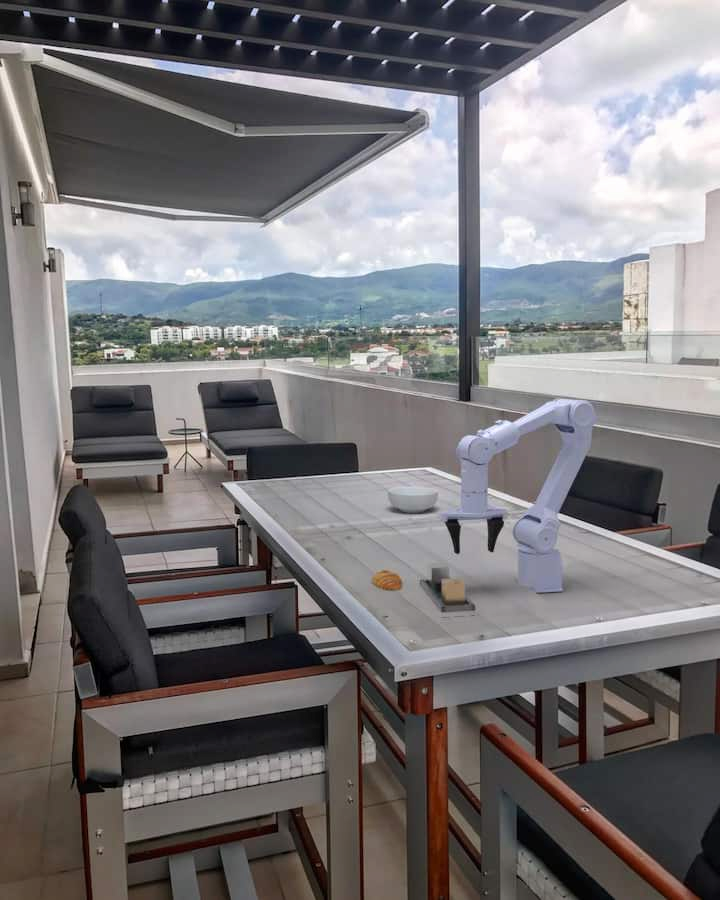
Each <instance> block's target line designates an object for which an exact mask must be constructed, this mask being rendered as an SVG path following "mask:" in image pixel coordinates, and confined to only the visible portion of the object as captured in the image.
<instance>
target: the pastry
mask: <svg viewBox="0 0 720 900" xmlns="http://www.w3.org/2000/svg"><path fill="white" fill-rule="evenodd" d="M371 584H372V586H375V587H376V588H379V589H381V590H383V591H388V592H389V591H391V592H393V591H399V590H402V588H403V582H402V579H401V577H400V576H399V574H398V573H396V572H392V571H391V570H388V569H382V570H380V571H378V572H375V574H374V575H373V576H372V578H371Z"/></svg>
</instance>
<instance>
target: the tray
mask: <svg viewBox="0 0 720 900" xmlns="http://www.w3.org/2000/svg"><path fill="white" fill-rule="evenodd" d="M449 579H451V577H449ZM419 584H420V586H421V588H422V589H423V590H424V592H425V593H426V594H427V595H428V596H429V598H430V600H432V601H433V603H434V604H435V606H436V607H437V608H438V610H439V611H440V612H441V613H451V612H452V613H453V612H469V611H470V612H471V611H476V604H475V603H474V602H472V601H471V599H470V598H469V597H468V596H467V595H466V594H465V605H451V606H444V604H443V603H442V592H436V590H431V588H430V587H429V586H428V585H427V579H420V580H419ZM461 617H464V615H462V616H461V615H459V616H455V618H461ZM471 617H475V614H474V615H471ZM441 618H442V619H443V618H445V619H446V618H448V616H443V617H441Z"/></svg>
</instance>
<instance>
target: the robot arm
mask: <svg viewBox="0 0 720 900" xmlns="http://www.w3.org/2000/svg"><path fill="white" fill-rule="evenodd" d="M596 414H597V413H596V411H595V409H594V406H593V404H592V403H590V402H589V401H588V400H585V399H569V398H568V399H567V398H564V397H558V398H555V399H554V400H553V401H551V400H550V401H548V402H546V403H545V404H543V405H541V406H540V407H538V408H537V409H535V410H532V411H531V412H529V413H527V414H525V415H524V416H522V417H519V418H518V419H516V420H515V421H513V422H512V421H509V420H506V419H505V420H502V419H498V420H496V421H494V425H493V426H489V427H488V428H485V429H484V430H483V429H479V430H477V433H476V434H475V435H472V434H471V435H470V434H468V435H465V436H464V437H462V438H461V440H459V443H458V445H457V447H456V448H455V452H456V455H457V457H458V458H459V460H460V466H461V467H460V469H461V470H460V480H461V481H460V483H461V484H460V509H453V510H445V511H444V510H442V511H441V510H440V520H441V522H442V523H444V524H445V526H446V527H447V531H448V533H449V536H450V538H451V542H452V546H453V552H454V553H455V554H456V555H460V554H461V544H460V542H461V541H460V540H461V539H460V536H461V529H462V528H461V527H462V526H461V524H460V522H459V521H472V520H473V521H474V520H475V521H476V520H486V524H487V551H488V552H490V553H494V551H495V548H496V543H497V539H498V538H499V537H498V536H499V534H500V533H501V531H502V529H503V527H504V524H505V521H504V520H508V515H509V514H508V510H507V509H506V508H488V503H489V502H488V495H489V493H488V490H489V489H488V481H489V479H488V478H489V476H488V475H489V471H488V469H489V464H488V463H489V462H490V461H491V460H492V458H493V457H494V455H496V454H499V453H500V452H502V451H504V450H506V449H507V450H508V448H511V447H513V446H514V445H517V443H518V441H519V439H520V437H521V436H523V435H526V434H527V433H530V432H532V431H535V430H536V429H539V428H542V427H544V426H547V425H550V424H553V426H554V428H555V429H556V430H557V431H558V433H559V434H560V436H561V438H562V441H563V445H562V447H561V449H560V451H559V454H558V455H557V458H556V460H555V462H554V463H553V466H552V468H551V470H550V471H549V474H548V476H547V479H546V480H545V482H544V484H543V486H542V489H541V491H540V492H539V495H538V496H537V499H536V501H535V503H534V504H533V505H532V506H530V507H528V508H527V509H526V510H524V511H523V514H522V515H521V517H520V518H519V519H517V521H515V523H514V524H513V527H512V530H511V531H512V536H513V539H514V541H515V542H517V584H518V586H521V587H524V588H528V589H529V588H530V589H531V590H532V591H533V592H534V593H536V594H539V593H540V594H541V593H556V592H557V593H558V592H563V591H564V589H563V559H562V558H563V557H562V555H561V552H560V551H559V549H556V548H555V546H556V544H557V541H558V532H559V529H560V528H561V523H560V520H559V518H558V517H559V516H558V514H559V512H560V510H561V508H562V506H563V503H564V502H565V499H566V497H567V495H568V493H569V491H570V489H571V487H572V486H573V483H574V481H575V479H576V477H577V475H578V472H579V471H580V469H581V467H582V464H583V462H584V460H585V458H586V456H587V454H588V453H589V450H590V447H591V445H592V437H593V428H594V426H595V423H596V422H597V419H598V417H597V415H596Z"/></svg>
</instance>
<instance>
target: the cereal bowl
mask: <svg viewBox="0 0 720 900" xmlns="http://www.w3.org/2000/svg"><path fill="white" fill-rule="evenodd" d="M438 494H439V492H438V489H436V488H433V487H425V486H410V485H409V486H396V487H394V486H393V487H390V488H389V489H388V491H387V497H388V498H387V499H388V501H389V503H390V505H392V506H393V507H395V508H396V509H399V510H400V512H402V513H408V514H415V513H416V514H418V513H423V512H424V511H426V510H428V509H430V508H433V506H435V504H436V503H437V501H438V497H439V496H438Z"/></svg>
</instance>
